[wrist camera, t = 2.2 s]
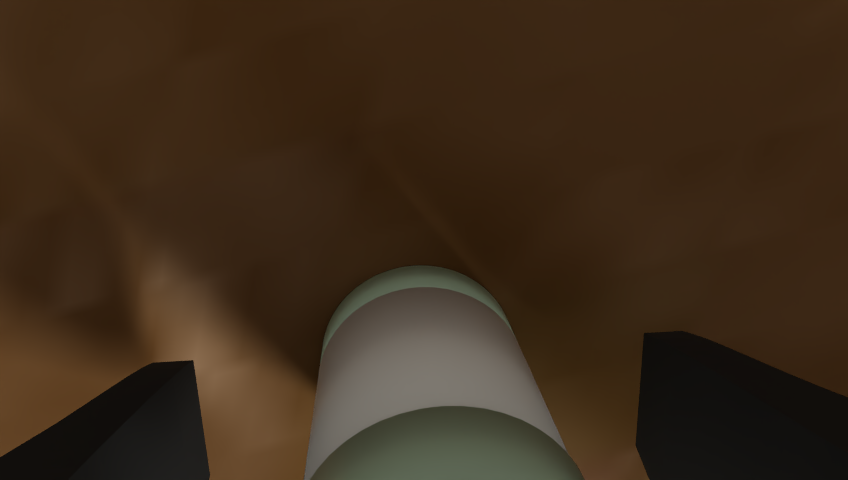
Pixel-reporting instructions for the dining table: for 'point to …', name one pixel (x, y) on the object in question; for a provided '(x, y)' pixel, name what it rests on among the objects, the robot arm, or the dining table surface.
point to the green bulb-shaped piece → (428, 388)
